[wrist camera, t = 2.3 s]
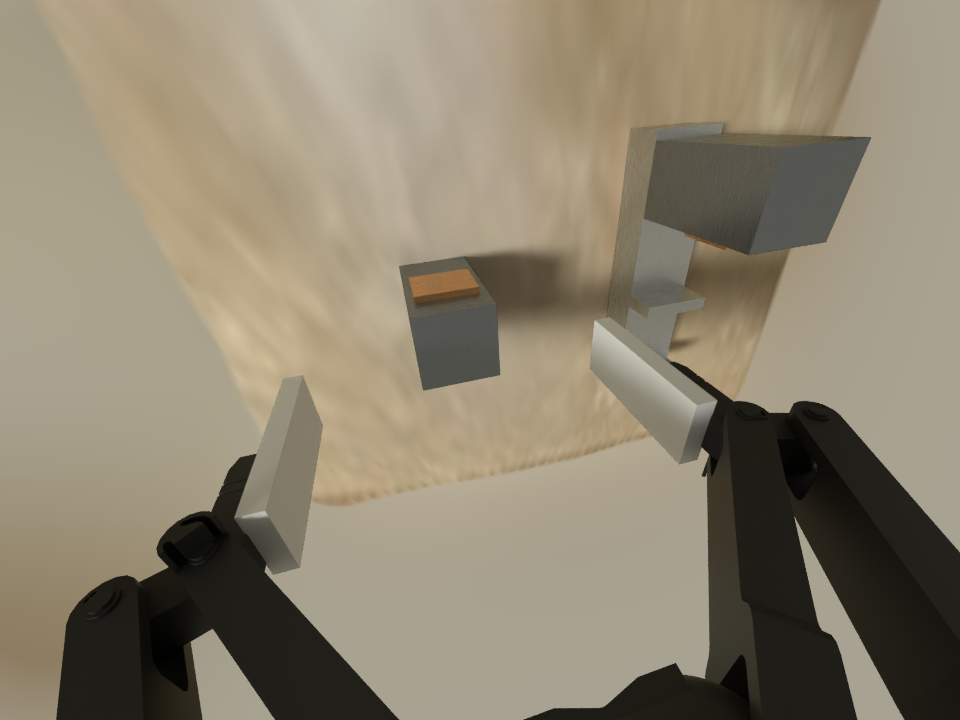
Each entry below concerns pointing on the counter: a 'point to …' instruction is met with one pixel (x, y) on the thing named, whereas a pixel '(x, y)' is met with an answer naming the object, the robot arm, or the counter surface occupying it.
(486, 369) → the grey rectangular block
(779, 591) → the robot arm
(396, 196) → the counter surface
